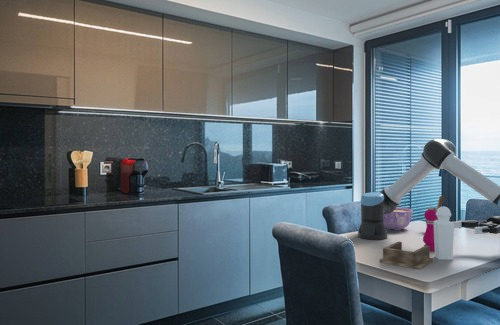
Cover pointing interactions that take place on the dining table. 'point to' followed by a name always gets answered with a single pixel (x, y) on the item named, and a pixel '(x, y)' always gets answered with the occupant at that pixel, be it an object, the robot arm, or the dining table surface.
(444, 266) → the dining table surface
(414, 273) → the dining table surface
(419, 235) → the dining table surface
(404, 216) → the bowl of food
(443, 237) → the white plastic bottle
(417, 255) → the walnut holder
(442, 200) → the mortar and pestle
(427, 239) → the pepper mill
